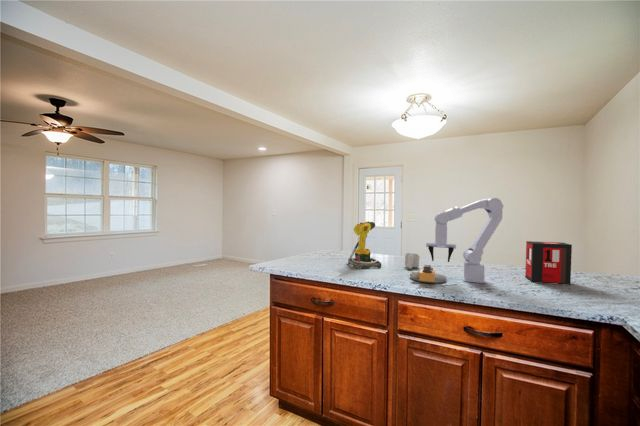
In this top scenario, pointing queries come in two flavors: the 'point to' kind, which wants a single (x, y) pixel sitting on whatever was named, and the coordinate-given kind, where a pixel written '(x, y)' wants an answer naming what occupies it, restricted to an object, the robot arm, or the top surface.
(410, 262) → the grey rounded block
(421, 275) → the bracket
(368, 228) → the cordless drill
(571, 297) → the top surface
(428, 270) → the wedge
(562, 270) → the cleaning product box
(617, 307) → the top surface
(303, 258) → the top surface
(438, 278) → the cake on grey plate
